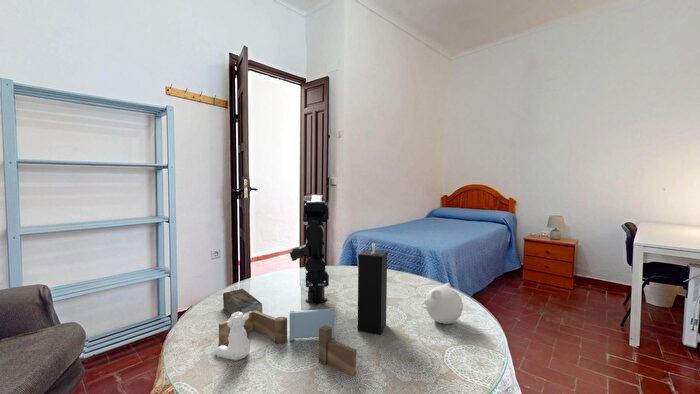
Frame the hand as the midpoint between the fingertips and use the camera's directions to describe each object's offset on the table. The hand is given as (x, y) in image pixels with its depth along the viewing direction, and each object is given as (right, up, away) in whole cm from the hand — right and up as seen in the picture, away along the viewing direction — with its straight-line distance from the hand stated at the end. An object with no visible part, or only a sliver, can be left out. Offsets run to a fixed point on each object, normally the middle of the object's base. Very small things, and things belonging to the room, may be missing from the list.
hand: (315, 283), depth 103 cm
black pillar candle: (+19, -14, -4) cm, 24 cm away
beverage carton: (-27, -13, +6) cm, 31 cm away
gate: (0, -13, -12) cm, 17 cm away
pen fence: (-6, -14, -21) cm, 25 cm away
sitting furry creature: (-19, -14, -20) cm, 31 cm away
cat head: (+44, -14, +1) cm, 46 cm away
